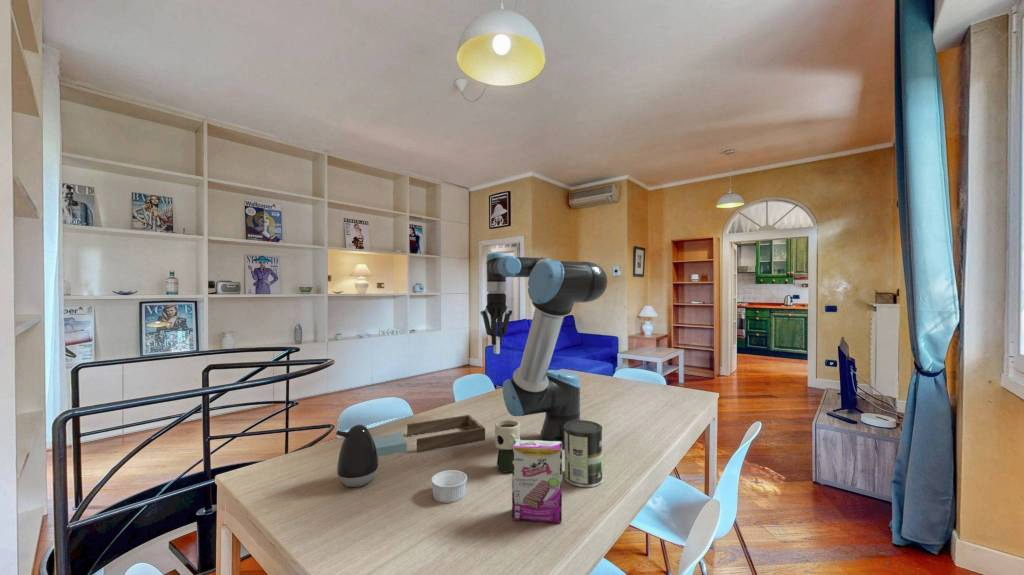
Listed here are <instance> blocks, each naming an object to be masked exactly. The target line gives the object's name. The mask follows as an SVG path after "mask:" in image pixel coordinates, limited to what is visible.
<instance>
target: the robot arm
mask: <svg viewBox="0 0 1024 575" xmlns="http://www.w3.org/2000/svg"><path fill="white" fill-rule="evenodd" d="M485 264H486V292H487V293H486V306H485V308H484V309H483V310H481V311H480V315H481V316H482V318H483V319H482V320H483V324H484V327H485V331H486V335H487V336H490V337H491V345H492V346H493V354H496V355H500V353H501V345H502V344H503V336H504V335H506V334H507V333H508V327H509V323H510V319H511V318H510V317H511V316H512V314H513V310H510V309H508V306H507V294H506V293H507V278H528V281H527V286H528V288H527V293H528V296H529V299H530V300H531V304H532V306H533V308H535V309H534V312H533V316H532V321H531V325H530V327H529V331H528V336H527V339H526V343H525V346H524V350H523V354H522V358H521V362H520V365H519V367H518V368H516V369H515V370H514V371H513V372H512V377H511V379H509V378H508V379H506V380H504V381H503V384H502V396H503V402H504V405H505V408H506V410H507V412H508V413H509V415H511V416H512V417H525V416H529V415H530V416H531V415H537V414H544V413H545V415H544V416H545V417H544V421H543V424H542V427H541V430H540V433H539V434H540V435H539V436H540V441H560V442H562V449H564V450H565V442H564V424H565V423H567V422H570V421H575V420H581V397H580V396H581V383H580V377H579V375H578V374H576V373H574V372H570V371H565V370H559V369H549V367H550V364H551V361H552V357H553V354H554V351H555V347H556V344H557V342H558V341H557V340H558V338H559V335H560V331H561V327H562V325H563V322H564V318H565V317H566V316H569V315H571V313H572V310H573V307H574V304H575V303H589V302H593V301H596V300H597V299H599V298H600V297H602V295H603V294H604V293H605V291H606V290H607V286H608V275H607V274H606V271H605V270H604V268H602V267H601V266H600V265H599V264H597V263H594V262H590V261H572V260H571V261H568V260H567V261H566V260H565V261H564V260H558V259H554V260H553V259H551V258H548V257H547V258H546V257H541V256H540V257H530V256H529V257H526V256H514V255H506V253H502V252H493V253H488V254H487V256H486V263H485ZM488 315H489V316H490V318H489V316H488Z"/></svg>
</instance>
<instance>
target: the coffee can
mask: <svg viewBox="0 0 1024 575" xmlns="http://www.w3.org/2000/svg"><path fill="white" fill-rule="evenodd" d="M564 442H565V449H564V479H565V481H566V482H567V483H569V484H570V485H572V486H576V487H578V486H579V488H595V487H597V486H599V485H601V484H602V483H603V480H604V479H603V426H602V424H600V423H598V422H595V421H591V420H584V419H583V420H582V419H580V420H575V421H570V422H567V423H565V424H564Z"/></svg>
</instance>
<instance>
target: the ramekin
mask: <svg viewBox="0 0 1024 575" xmlns="http://www.w3.org/2000/svg"><path fill="white" fill-rule="evenodd" d="M467 481H468V475H467V474H466V473H465V472H463V471H461V470H455V469H450V470H448V469H447V470H443V471H439V472H437V473H435V474H434V475H433V476H431V480H430V482H431V486H432V495H433V496H432V497H433V498H434V500H435V501H436V502H439V503H445V504H446V503H447V504H448V503H455V502H458V501H460V500H462V499H463V498H464V496H465V494H466V491H467V490H466V488H467Z"/></svg>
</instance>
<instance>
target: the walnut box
mask: <svg viewBox="0 0 1024 575" xmlns="http://www.w3.org/2000/svg"><path fill="white" fill-rule="evenodd" d="M406 426H407V427H406V428H407V429H406V430H407V431H406V433H407V437H408V436H409V437H412V436H411V435H415V436H419V435H418V434H421V435H426V434H425V433H427V434H432V432H433V433H439V432H444V430H445V431H451V430H456V429H455V428H457V429H462V428H461V427H463V428H468V427H469V428H470V429H469V428H468V429H466V430H461V431H456V432H448V433H442V434H438V435H437V434H436V435H432V436H431V435H430V436H425V437H420V438H416V452H417V453H422V452H429V451H433V450H438V449H444V448H449V447H455V446H460V445H465V444H466V445H467V444H470V443H477V442H482V441H486V427H485V426H483V425H482V424H480V423H479V422H478V420H476V419H475V418H474V417H472V416H471V415H470V414H466V415H460V416H451V417H447V418H440V419H433V420H425V421H420V422H413V423H407V424H406ZM467 426H468V427H467ZM450 429H451V430H450ZM438 431H439V432H438Z"/></svg>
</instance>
